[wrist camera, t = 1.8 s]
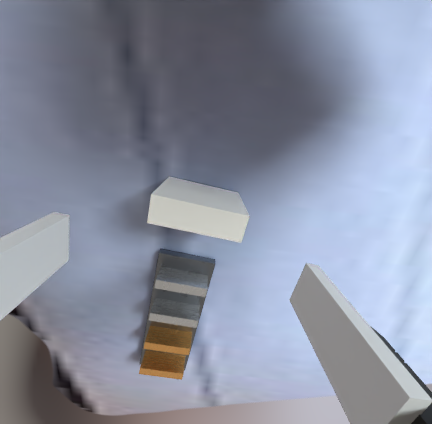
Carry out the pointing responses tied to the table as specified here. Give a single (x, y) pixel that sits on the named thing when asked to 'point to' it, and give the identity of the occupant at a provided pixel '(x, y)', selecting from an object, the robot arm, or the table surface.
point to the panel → (198, 209)
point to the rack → (174, 312)
